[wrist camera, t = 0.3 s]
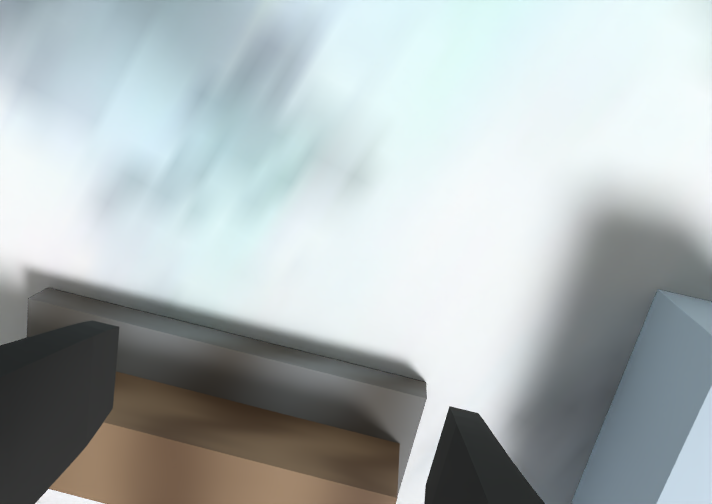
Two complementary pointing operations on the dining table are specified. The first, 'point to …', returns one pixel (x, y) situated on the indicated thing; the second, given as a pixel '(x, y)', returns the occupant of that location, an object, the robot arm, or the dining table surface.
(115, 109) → the dining table surface
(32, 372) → the robot arm
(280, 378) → the stand
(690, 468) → the beam
